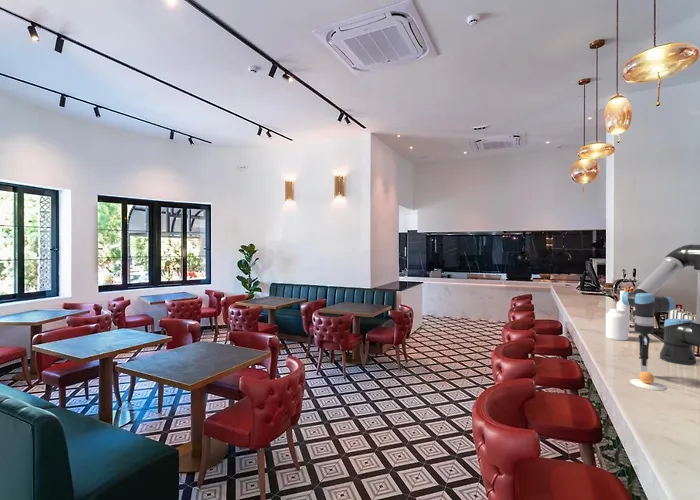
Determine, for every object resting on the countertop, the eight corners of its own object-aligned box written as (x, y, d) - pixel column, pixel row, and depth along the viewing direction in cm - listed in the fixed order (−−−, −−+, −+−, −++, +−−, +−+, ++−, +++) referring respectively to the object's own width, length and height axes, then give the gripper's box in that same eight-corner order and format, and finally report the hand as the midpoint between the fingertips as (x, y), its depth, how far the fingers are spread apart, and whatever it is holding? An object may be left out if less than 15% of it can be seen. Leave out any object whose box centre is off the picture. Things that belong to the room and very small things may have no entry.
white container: (601, 337, 251) (601, 308, 250) (612, 335, 256) (612, 306, 256) (621, 341, 239) (621, 311, 239) (632, 339, 245) (632, 309, 244)
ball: (654, 387, 169) (652, 377, 172) (655, 379, 166) (654, 370, 170) (639, 384, 172) (638, 375, 175) (640, 377, 169) (639, 367, 173)
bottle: (623, 333, 260) (624, 291, 260) (613, 330, 268) (613, 290, 267) (632, 332, 262) (632, 291, 262) (621, 329, 270) (622, 289, 269)
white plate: (663, 382, 171) (663, 382, 171) (668, 392, 160) (668, 392, 160) (628, 377, 178) (628, 377, 178) (631, 386, 167) (631, 386, 167)
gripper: (633, 321, 188) (632, 366, 188) (636, 326, 177) (635, 374, 177) (651, 322, 183) (651, 368, 184) (656, 328, 173) (655, 377, 173)
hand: (643, 371), depth 181 cm, fingers closed
